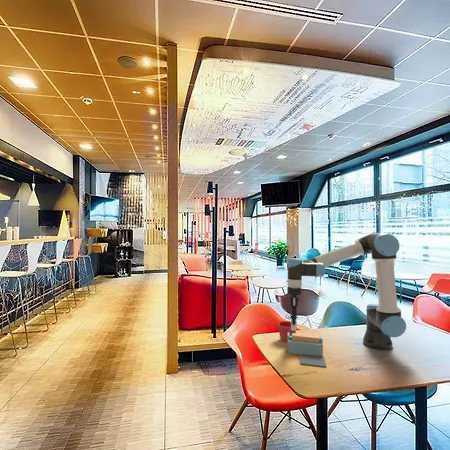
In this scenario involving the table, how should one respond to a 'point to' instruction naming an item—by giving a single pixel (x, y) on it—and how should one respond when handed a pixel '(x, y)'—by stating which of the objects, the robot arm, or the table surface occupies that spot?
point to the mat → (312, 361)
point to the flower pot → (285, 330)
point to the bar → (305, 338)
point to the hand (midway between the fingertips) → (293, 330)
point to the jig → (305, 347)
